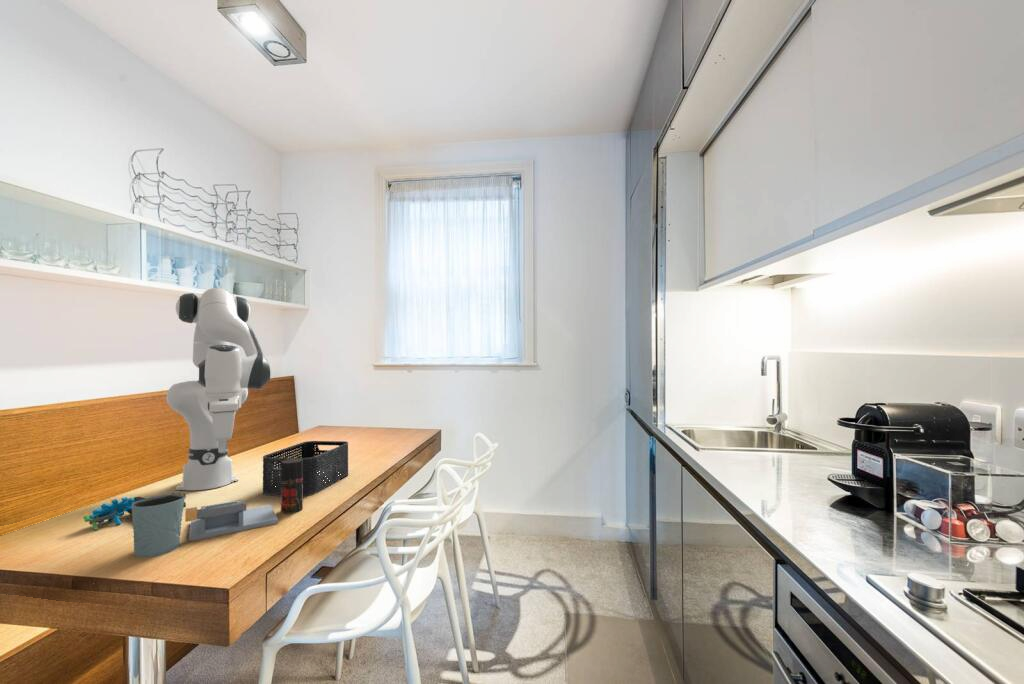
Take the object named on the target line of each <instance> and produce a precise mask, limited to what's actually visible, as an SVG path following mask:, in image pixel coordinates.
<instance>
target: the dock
mask: <svg viewBox="0 0 1024 684" xmlns="http://www.w3.org/2000/svg"><path fill="white" fill-rule="evenodd" d="M239 502H242V501H241V499H239V500H233V501H227V502H221V503H214V504H209V505H203V506H202V505H201V506H200V509H204V508H209V507H215V506H221V505H227V504H233V503H239ZM275 524H278V517H277V515H276V512H275V509H274V508H273V505H272V504H268V505H262V506H256V507H251V508H246V511H241V512H236V513H230V514H225V515H219V516H213V517H208V518H202V519H197V520H193V521H190V526H189V537H188V542H192V541H197V540H202V539H207V538H212V537H217V536H222V535H227V534H231V533H235V532H242V531H246V530H250V529H256V528H260V527H261V528H262V527H265V526H271V525H275Z"/></svg>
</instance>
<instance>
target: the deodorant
mask: <svg viewBox="0 0 1024 684" xmlns="http://www.w3.org/2000/svg"><path fill="white" fill-rule="evenodd" d="M303 497H304V496H303V459H288V460H284V461H282V462H281V495H280V513H281V514H286V515H288V514H295V513H298V512H300V511H302V510H303V507H304V506H303V504H304V503H303V499H304V498H303Z"/></svg>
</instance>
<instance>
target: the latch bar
mask: <svg viewBox="0 0 1024 684" xmlns="http://www.w3.org/2000/svg"><path fill="white" fill-rule="evenodd" d="M246 509H247V501H241V502H239V503H233V504H227V505H221V506H215V507H209V508H204V509H201V508H199V509H198V507H197V506H194V507H188V508H185V512H184V513H185V514H184V516H185V517H184V518H185V520H184V521H185V523H187V522H191V521H193V520H197V519H202V518H208V517H213V516H219V515H225V514H230V513H236V512H241V511H246Z"/></svg>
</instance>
